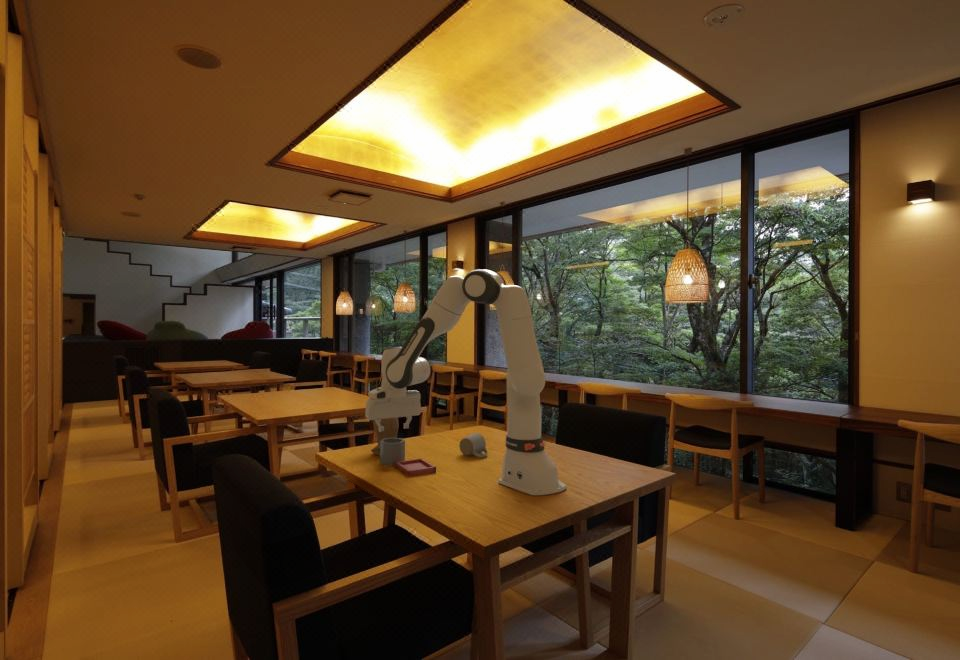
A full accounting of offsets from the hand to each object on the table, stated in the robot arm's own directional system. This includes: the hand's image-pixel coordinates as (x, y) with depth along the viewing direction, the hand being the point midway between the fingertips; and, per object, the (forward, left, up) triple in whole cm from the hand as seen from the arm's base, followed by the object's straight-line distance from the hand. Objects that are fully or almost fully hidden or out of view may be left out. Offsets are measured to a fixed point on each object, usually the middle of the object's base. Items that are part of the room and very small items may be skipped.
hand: (393, 429), depth 175 cm
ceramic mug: (-5, -31, -12) cm, 34 cm away
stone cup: (+15, -3, -12) cm, 19 cm away
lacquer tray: (-11, -4, -12) cm, 17 cm away
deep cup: (0, 0, -12) cm, 12 cm away
